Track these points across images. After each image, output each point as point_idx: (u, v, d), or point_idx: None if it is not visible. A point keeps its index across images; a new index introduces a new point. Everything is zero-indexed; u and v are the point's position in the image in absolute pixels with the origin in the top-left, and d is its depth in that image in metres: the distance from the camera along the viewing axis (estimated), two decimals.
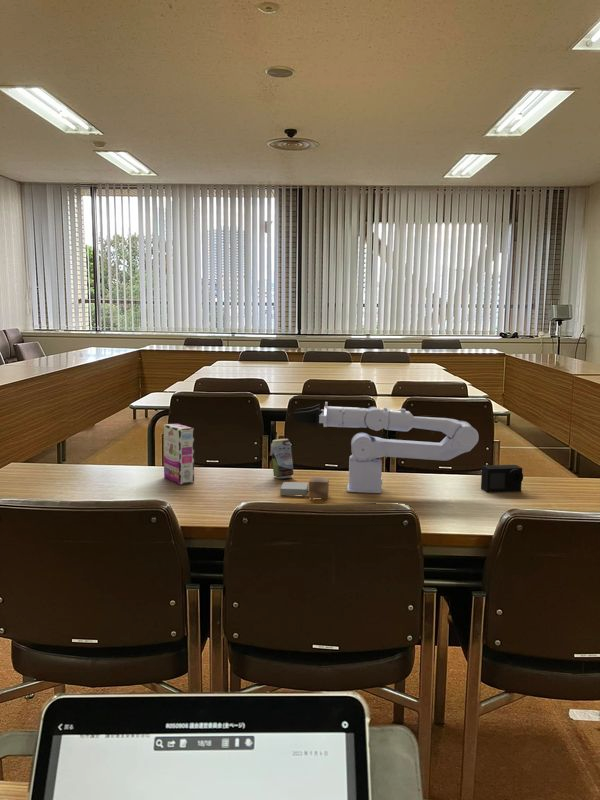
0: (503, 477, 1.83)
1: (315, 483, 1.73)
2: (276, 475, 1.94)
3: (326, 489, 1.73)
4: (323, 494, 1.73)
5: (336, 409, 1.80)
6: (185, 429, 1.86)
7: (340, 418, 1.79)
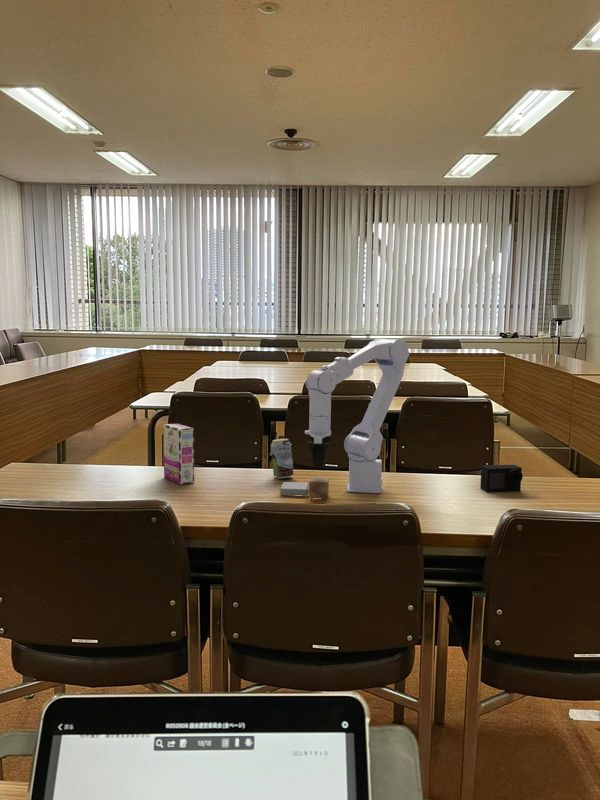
0: (503, 477, 1.83)
1: (315, 483, 1.73)
2: (276, 475, 1.94)
3: (326, 489, 1.73)
4: (323, 494, 1.73)
5: (310, 422, 1.72)
6: (185, 429, 1.86)
7: (319, 419, 1.70)
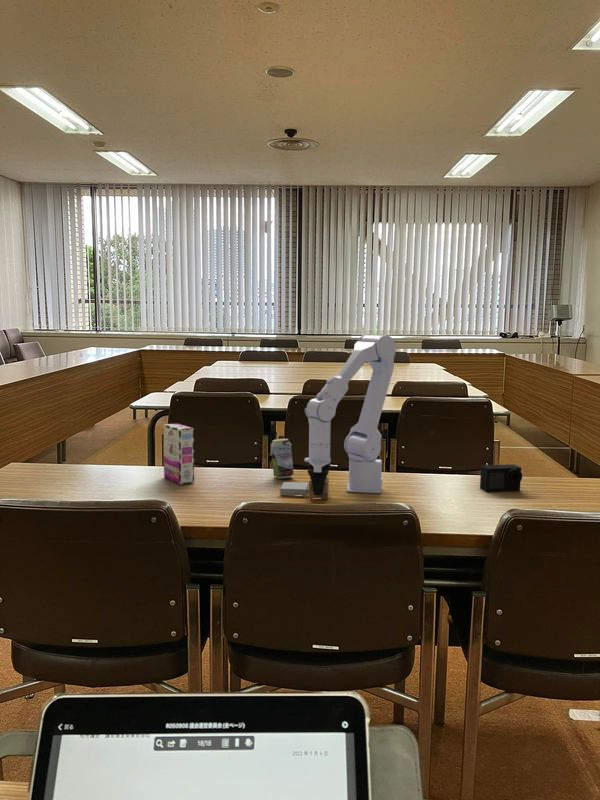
0: (502, 477, 1.83)
1: None
2: (276, 475, 1.94)
3: (326, 489, 1.73)
4: (323, 494, 1.73)
5: (310, 450, 1.73)
6: (185, 429, 1.86)
7: (319, 447, 1.71)
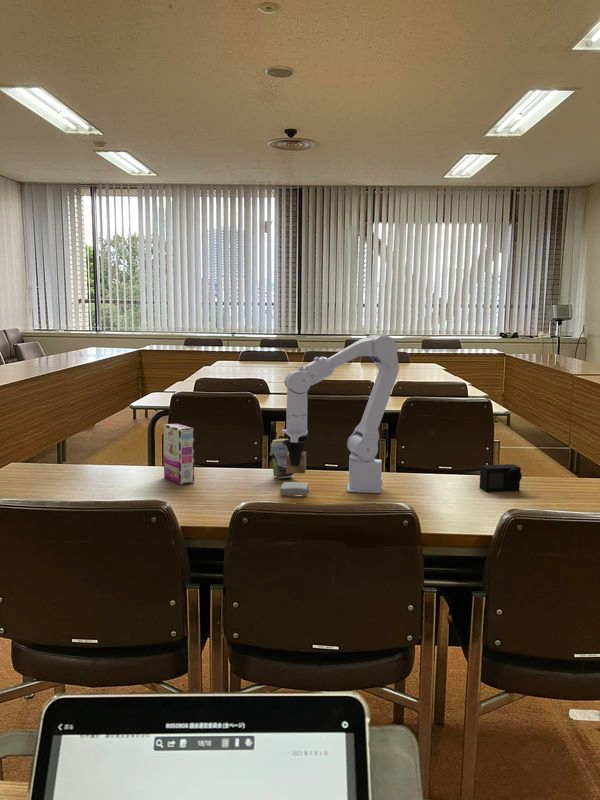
0: (502, 476, 1.83)
1: None
2: (276, 475, 1.94)
3: (303, 462, 1.76)
4: (300, 467, 1.76)
5: (287, 421, 1.76)
6: (185, 429, 1.86)
7: (296, 418, 1.74)
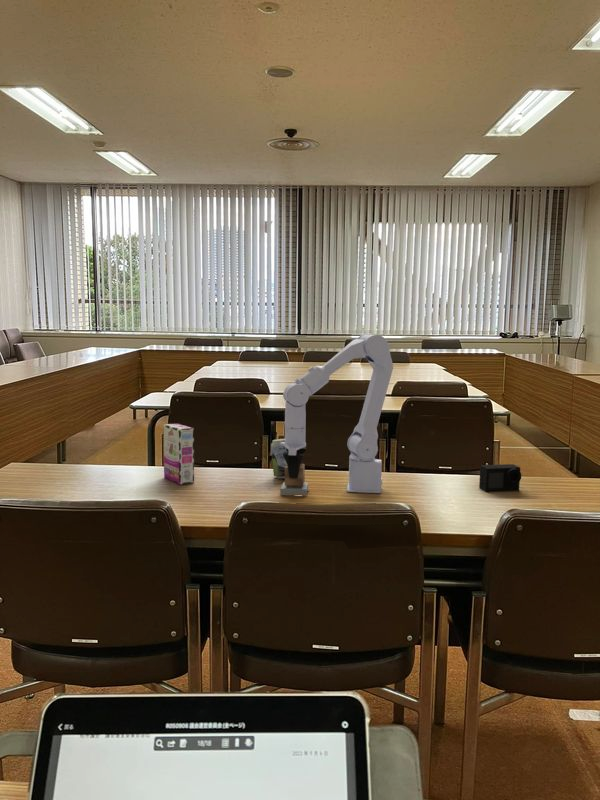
0: (502, 476, 1.83)
1: None
2: (276, 475, 1.94)
3: (301, 475, 1.77)
4: (298, 480, 1.77)
5: (286, 434, 1.77)
6: (185, 429, 1.86)
7: (294, 431, 1.75)
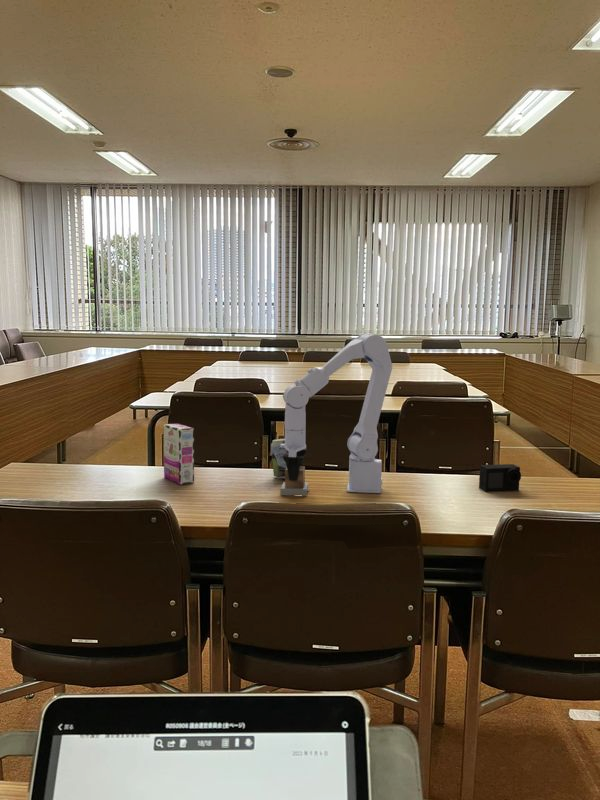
0: (502, 476, 1.83)
1: None
2: (276, 475, 1.94)
3: (302, 477, 1.77)
4: (298, 482, 1.77)
5: (286, 436, 1.77)
6: (185, 429, 1.86)
7: (294, 433, 1.75)
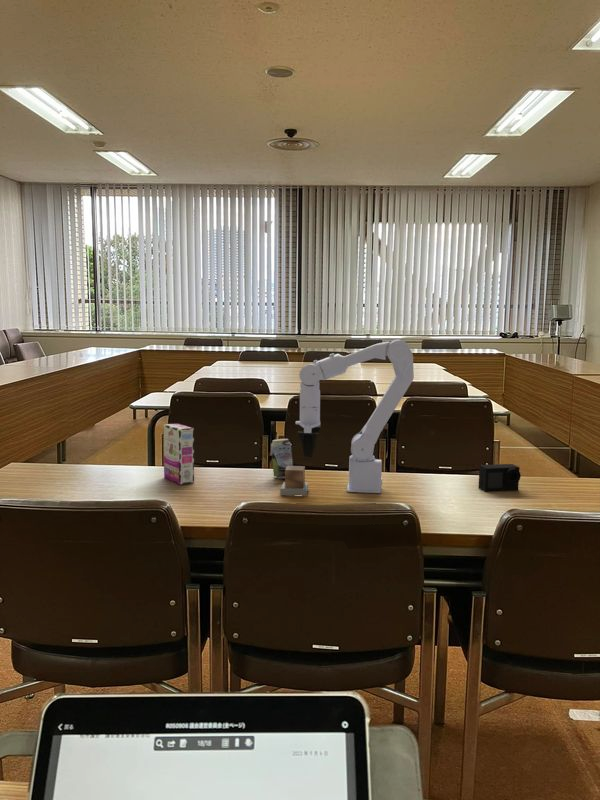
0: (501, 476, 1.83)
1: (291, 471, 1.77)
2: (276, 475, 1.94)
3: (302, 477, 1.77)
4: (298, 482, 1.77)
5: (301, 413, 1.82)
6: (185, 429, 1.86)
7: (309, 410, 1.80)
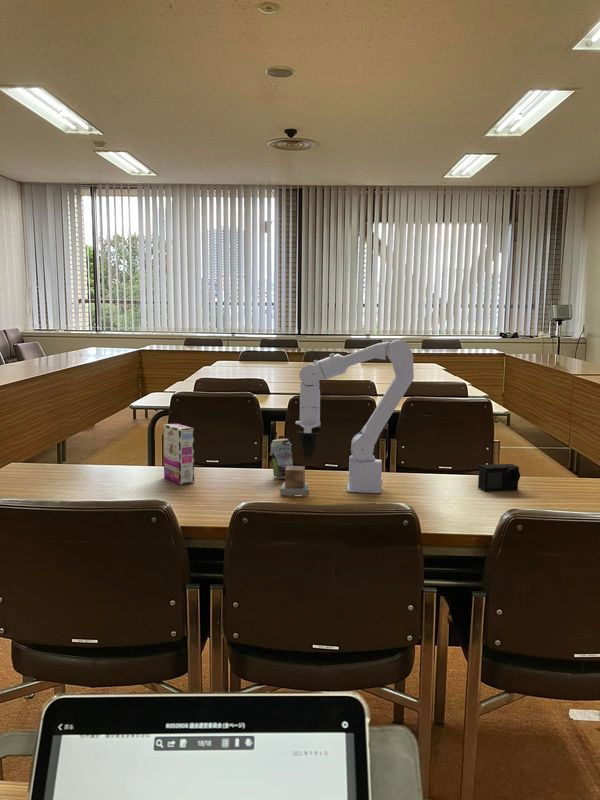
0: (501, 476, 1.84)
1: (291, 471, 1.77)
2: (276, 475, 1.94)
3: (302, 477, 1.77)
4: (298, 482, 1.77)
5: (301, 413, 1.82)
6: (185, 429, 1.86)
7: (309, 410, 1.80)
